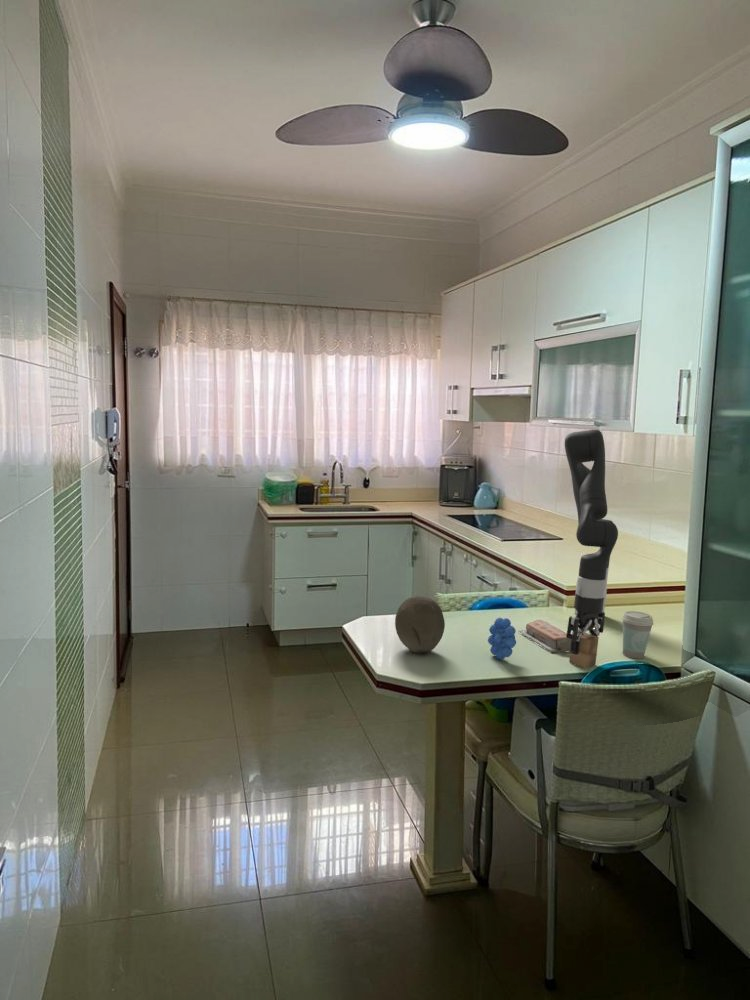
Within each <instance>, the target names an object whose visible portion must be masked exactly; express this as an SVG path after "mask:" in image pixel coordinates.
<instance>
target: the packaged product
mask: <svg viewBox="0 0 750 1000" xmlns="http://www.w3.org/2000/svg"><path fill="white" fill-rule="evenodd" d="M519 632H520V633H522V634H523V635H524V636H523V635H522V636H523V637H525V636H526V637H528V638H529V639H531V640H532V641H534V642H536V643H537V644H539V645H541V646H542V647H543V648H542V647H541V648H542V649H544V648H545V649H544V650H545V651H547V650H548V651H547V652H549V651H550V652H561V653H567V652H566V651H570V648H571V639H569V638H567V637H566V635H567V632H564V631H563V630H561V629H559V628H557V627H556V626H554V625H552V624H550V623H549V622H547V621H544V620H541V619H536V620H534V621H531V622H529V623H527V624H526V626H525V629H521V630H518V633H519ZM520 633H519V634H520ZM526 637H525V638H526ZM528 638H527V639H528ZM529 639H528V640H529ZM531 640H530V641H531ZM532 641H531V642H532ZM534 642H533V643H534ZM537 644H536V645H537ZM539 645H538V646H539ZM550 652H549V653H550Z"/></svg>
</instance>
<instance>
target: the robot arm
mask: <svg viewBox="0 0 750 1000" xmlns="http://www.w3.org/2000/svg"><path fill="white" fill-rule="evenodd" d="M564 450H565V454H566V455H565V456H566V459H567V462H568V466H569V471H570V474H571V475H570V476H571V483H572V490H573V491H572V492H573V495H574V501H575V506H576V511H577V522H578V524H577V525H578V526H577V529H576V534H575V535H576V539H577V542H578V543H579V544H580V545H581V546H585V547H595V548H599V549H598V550H597V551H596V552H593V553H586V554H583V555H582V556H581V557H580V560H579V566H578V567H579V568H578V576H577V581H576V586H575V594H574V603H573V608H574V614H575V615H576V616H572V615H570V616H569V617H568V624H567V630H566V633H567V635H566V637H567V638H569V639H571V648H570V652H571V653H572V654H575V655H577V654H579V647H580V639H581V637H582V635H585V633H587V632H589V633H588V634H591V635H594V636H597V637H599V636H600V633H601V634H603V633H604V630H605V629H604V628H605V615H606V613H605V608H606V602H607V601H606V600H607V592H608V587H607V586H608V574H609V569H610V568H609V567H610V560H611V555H612V552H613V550H614V547H615V545H616V543H617V540H618V537H619V529H618V527H617V525H616V524H615V523H614V521H612V519H611V520H610V519H605V518H606V517H607V515H608V504H607V496H606V486H605V485H606V447H605V440H604V436H603V433H602V431H601V430H599V429H588V430H582V431H581V430H580V431H574V432H570V433H568V434H566V436H565V439H564ZM588 462H593V465H592V467H591V469H590V468H588V466H586V465H584V463H588ZM577 633H579V634H578V636H577ZM570 652H569V653H570Z"/></svg>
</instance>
